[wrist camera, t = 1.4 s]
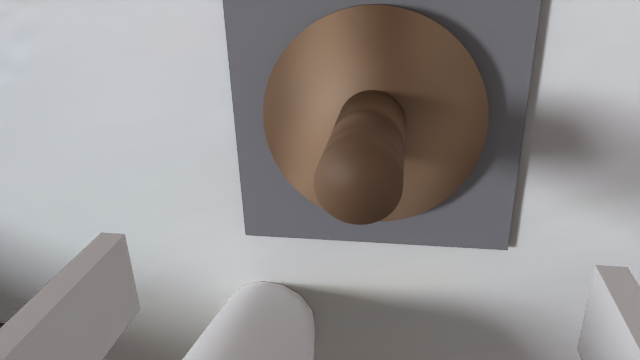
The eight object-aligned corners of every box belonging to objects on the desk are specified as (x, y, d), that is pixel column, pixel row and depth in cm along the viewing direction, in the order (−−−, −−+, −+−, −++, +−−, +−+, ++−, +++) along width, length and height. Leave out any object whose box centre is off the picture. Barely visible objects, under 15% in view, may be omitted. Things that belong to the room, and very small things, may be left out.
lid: (274, 209, 33) (228, 297, 25) (259, 4, 28) (196, 33, 20) (475, 218, 31) (497, 317, 23) (497, 1, 26) (534, 31, 18)
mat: (247, 231, 35) (245, 234, 34) (222, -37, 28) (219, -36, 28) (506, 245, 32) (507, 250, 32) (544, -44, 26) (547, -44, 25)
